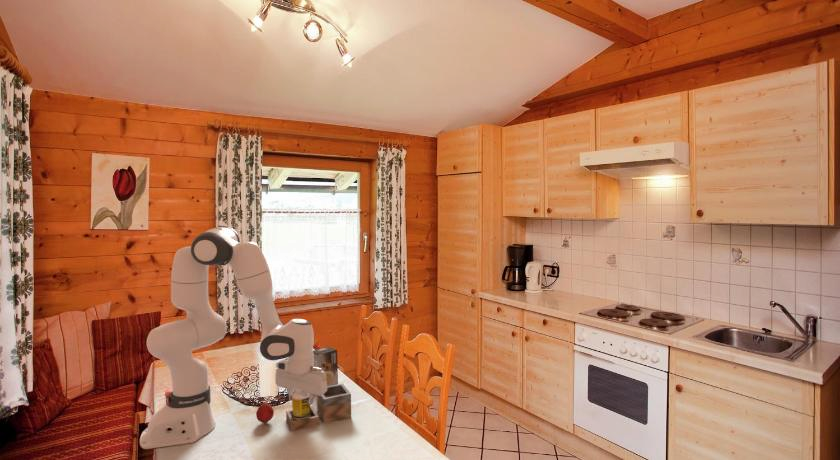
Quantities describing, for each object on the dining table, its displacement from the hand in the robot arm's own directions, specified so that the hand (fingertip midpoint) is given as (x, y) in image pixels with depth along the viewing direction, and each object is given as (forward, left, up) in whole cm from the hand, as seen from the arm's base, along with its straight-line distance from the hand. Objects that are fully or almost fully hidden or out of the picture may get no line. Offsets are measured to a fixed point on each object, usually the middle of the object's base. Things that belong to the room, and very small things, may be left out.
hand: (301, 401), depth 158 cm
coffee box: (+15, +24, -7) cm, 30 cm away
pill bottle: (0, 0, -6) cm, 6 cm away
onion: (-12, +4, -7) cm, 15 cm away
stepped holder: (+6, -1, -7) cm, 9 cm away
